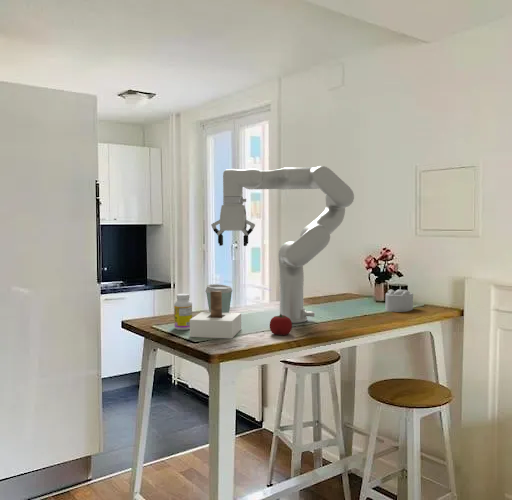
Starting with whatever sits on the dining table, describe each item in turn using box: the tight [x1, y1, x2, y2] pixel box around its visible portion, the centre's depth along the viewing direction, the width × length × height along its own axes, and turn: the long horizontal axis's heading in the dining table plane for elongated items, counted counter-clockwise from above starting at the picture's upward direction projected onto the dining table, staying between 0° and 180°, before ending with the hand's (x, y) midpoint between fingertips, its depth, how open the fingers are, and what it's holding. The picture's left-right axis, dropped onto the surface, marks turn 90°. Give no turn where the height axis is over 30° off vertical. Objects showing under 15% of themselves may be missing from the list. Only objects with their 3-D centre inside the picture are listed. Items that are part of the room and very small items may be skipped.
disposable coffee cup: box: [205, 283, 233, 313], centre depth 204 cm, size 11×11×15 cm
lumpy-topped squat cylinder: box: [384, 289, 414, 313], centre depth 233 cm, size 10×13×9 cm
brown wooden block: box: [210, 291, 222, 318], centre depth 187 cm, size 4×4×12 cm
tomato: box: [269, 313, 293, 336], centre depth 185 cm, size 8×8×7 cm
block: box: [189, 311, 242, 339], centre depth 188 cm, size 15×15×6 cm
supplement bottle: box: [173, 293, 193, 331], centre depth 195 cm, size 7×7×13 cm
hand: (233, 245), depth 204 cm, fingers open, 9 cm apart
